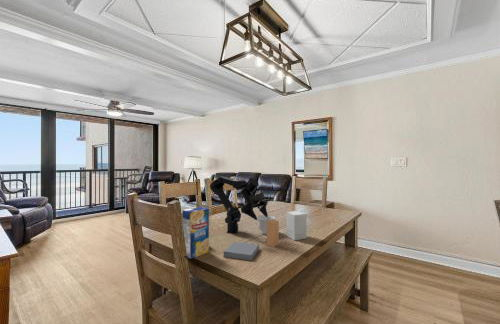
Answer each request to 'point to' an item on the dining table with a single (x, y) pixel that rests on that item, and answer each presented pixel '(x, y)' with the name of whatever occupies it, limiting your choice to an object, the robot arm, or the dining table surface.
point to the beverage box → (196, 231)
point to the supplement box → (296, 225)
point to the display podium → (241, 250)
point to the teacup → (264, 222)
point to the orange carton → (272, 233)
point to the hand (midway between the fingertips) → (262, 218)
